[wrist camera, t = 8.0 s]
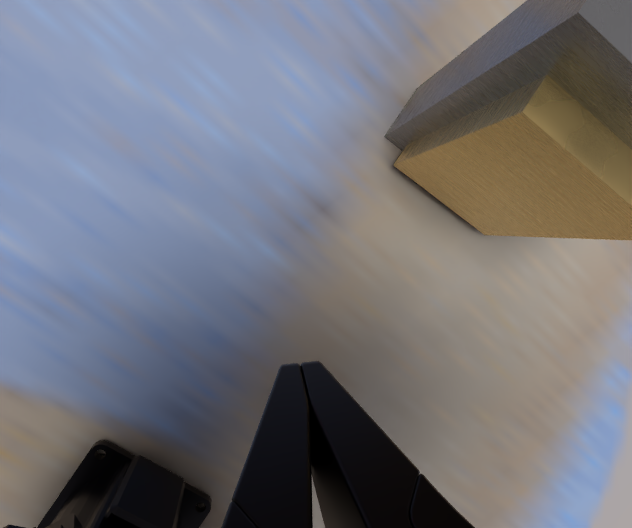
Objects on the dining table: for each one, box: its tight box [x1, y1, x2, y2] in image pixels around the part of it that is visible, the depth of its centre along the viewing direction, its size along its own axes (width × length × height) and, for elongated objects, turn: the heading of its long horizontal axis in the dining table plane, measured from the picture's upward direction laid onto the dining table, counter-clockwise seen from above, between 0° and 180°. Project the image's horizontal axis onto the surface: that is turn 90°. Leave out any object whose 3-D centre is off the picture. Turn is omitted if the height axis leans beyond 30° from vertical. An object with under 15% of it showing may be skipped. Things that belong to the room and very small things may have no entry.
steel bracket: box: [385, 0, 632, 150], centre depth 16 cm, size 3×8×13 cm, turn 55°
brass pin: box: [394, 75, 632, 240], centre depth 17 cm, size 10×6×10 cm, turn 145°
